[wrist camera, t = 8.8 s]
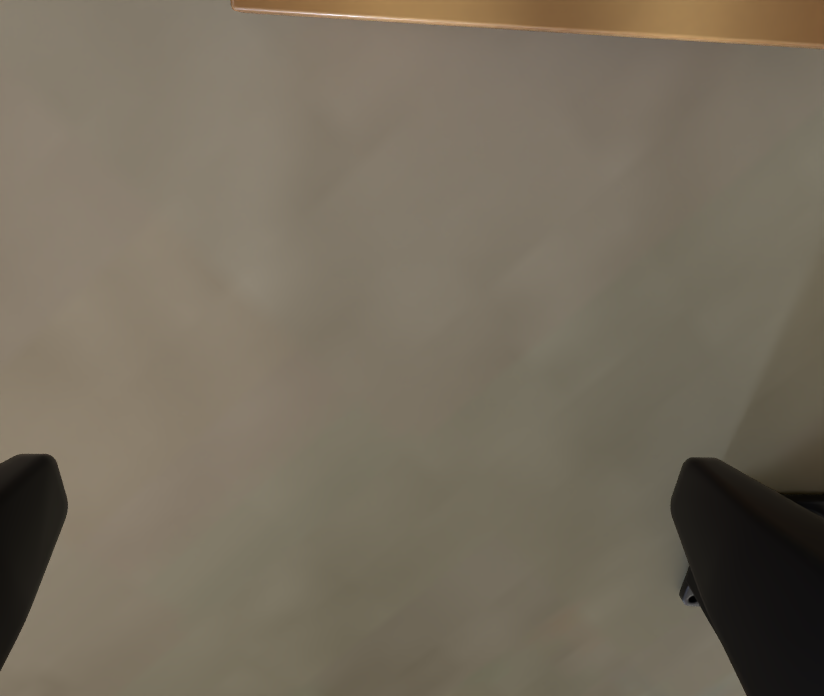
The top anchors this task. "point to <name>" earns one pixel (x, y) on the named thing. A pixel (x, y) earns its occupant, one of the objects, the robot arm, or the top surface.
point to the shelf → (588, 17)
